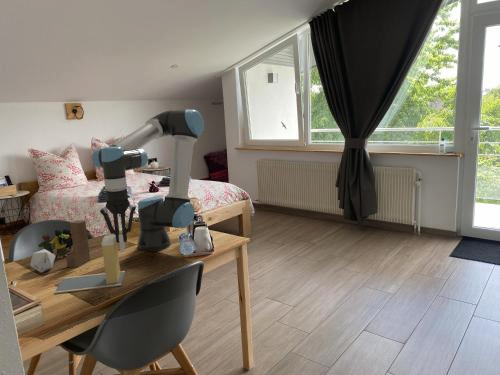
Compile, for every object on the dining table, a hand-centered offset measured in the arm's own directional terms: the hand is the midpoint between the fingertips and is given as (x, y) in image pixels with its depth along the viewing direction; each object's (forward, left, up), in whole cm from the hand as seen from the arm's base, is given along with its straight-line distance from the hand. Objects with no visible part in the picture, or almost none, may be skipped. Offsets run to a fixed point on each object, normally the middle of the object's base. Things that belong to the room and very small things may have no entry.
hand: (122, 250), depth 149 cm
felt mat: (+12, 0, -12) cm, 17 cm away
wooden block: (+21, -22, -12) cm, 33 cm away
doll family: (+29, -37, -12) cm, 49 cm away
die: (+34, -19, -12) cm, 41 cm away
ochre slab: (+4, 0, -11) cm, 12 cm away
